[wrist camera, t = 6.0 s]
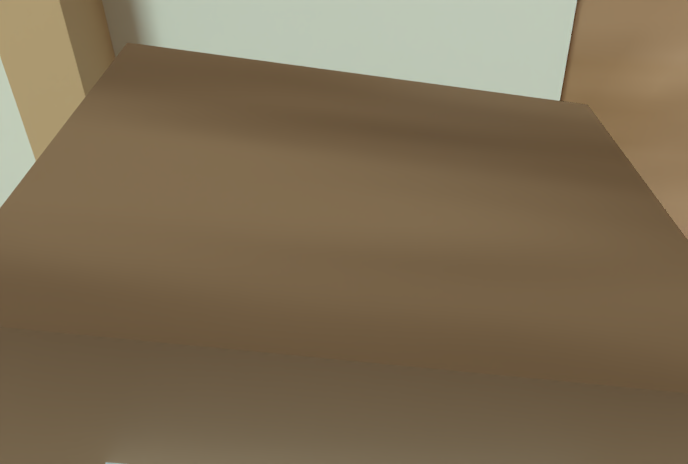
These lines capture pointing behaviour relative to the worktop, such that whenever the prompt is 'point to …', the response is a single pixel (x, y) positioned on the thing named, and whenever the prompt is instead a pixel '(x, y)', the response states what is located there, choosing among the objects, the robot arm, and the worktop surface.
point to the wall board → (268, 49)
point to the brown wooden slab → (335, 277)
